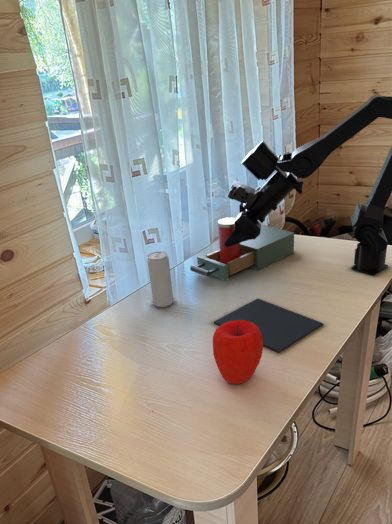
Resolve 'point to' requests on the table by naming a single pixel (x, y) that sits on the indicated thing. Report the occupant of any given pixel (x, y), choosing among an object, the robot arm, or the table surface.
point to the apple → (237, 350)
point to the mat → (273, 323)
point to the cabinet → (270, 246)
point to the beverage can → (160, 278)
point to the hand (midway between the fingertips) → (227, 238)
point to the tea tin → (225, 231)
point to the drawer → (221, 270)
